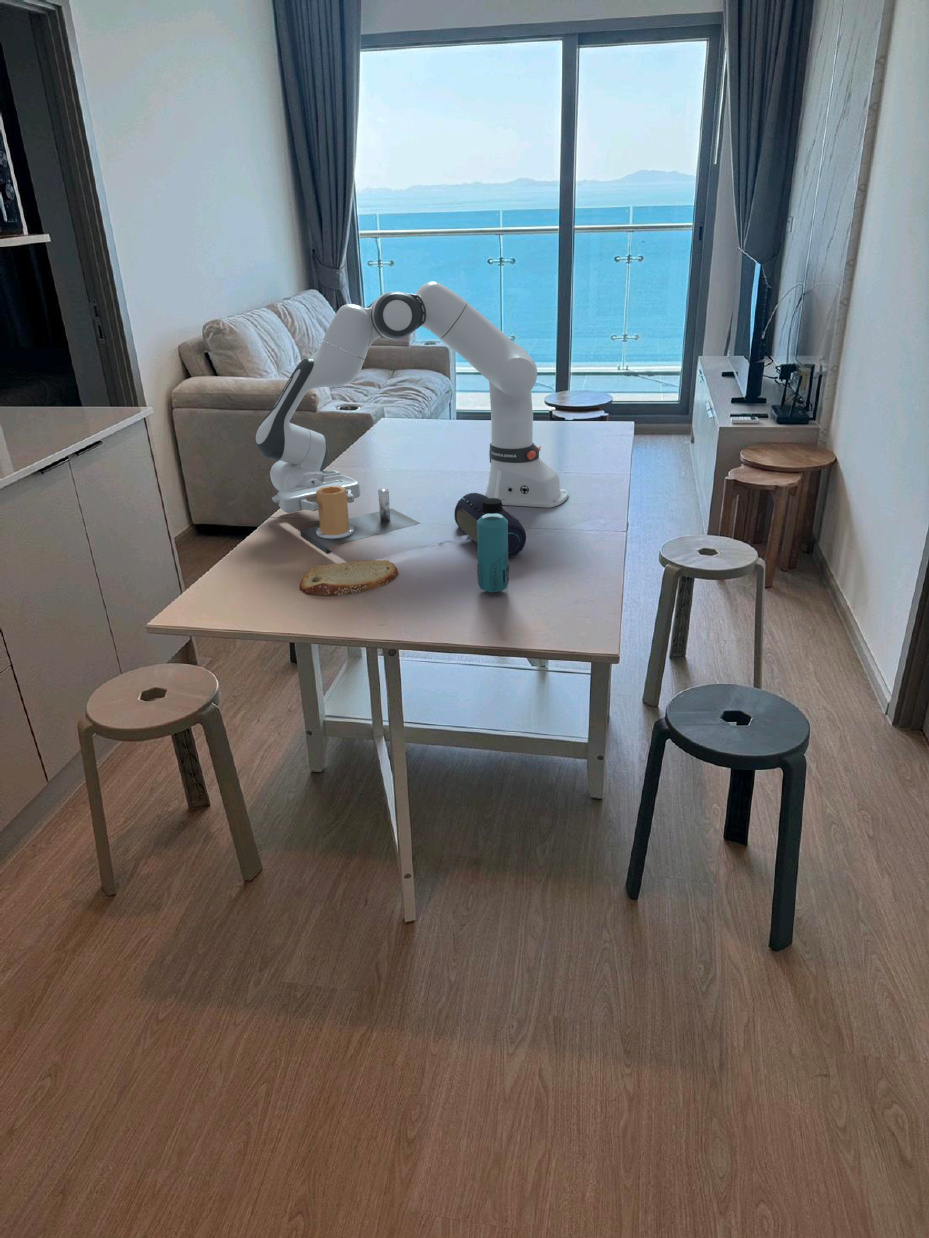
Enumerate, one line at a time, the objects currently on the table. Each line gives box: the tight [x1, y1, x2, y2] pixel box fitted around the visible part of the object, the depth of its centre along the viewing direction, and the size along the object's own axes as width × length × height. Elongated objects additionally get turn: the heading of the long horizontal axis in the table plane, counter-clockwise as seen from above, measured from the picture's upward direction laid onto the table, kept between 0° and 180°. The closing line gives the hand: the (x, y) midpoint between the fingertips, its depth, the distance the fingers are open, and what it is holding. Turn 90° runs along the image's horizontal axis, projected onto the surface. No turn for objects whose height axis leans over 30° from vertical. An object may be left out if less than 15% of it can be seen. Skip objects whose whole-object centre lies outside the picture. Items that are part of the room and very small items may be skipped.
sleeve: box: [316, 486, 350, 535], centre depth 197 cm, size 6×6×10 cm
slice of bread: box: [299, 559, 399, 597], centre depth 178 cm, size 18×18×4 cm
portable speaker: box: [453, 492, 527, 559], centre depth 194 cm, size 25×10×10 cm, turn 22°
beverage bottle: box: [476, 498, 510, 593], centre depth 168 cm, size 6×7×20 cm
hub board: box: [299, 487, 421, 554], centre depth 202 cm, size 26×14×11 cm, turn 125°
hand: (333, 503), depth 196 cm, fingers open, 8 cm apart
